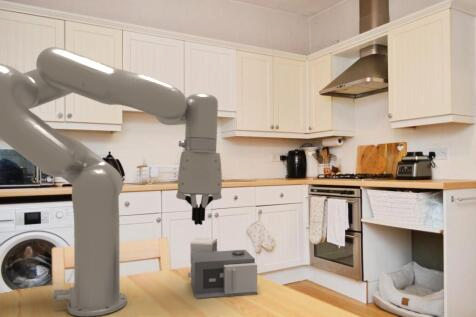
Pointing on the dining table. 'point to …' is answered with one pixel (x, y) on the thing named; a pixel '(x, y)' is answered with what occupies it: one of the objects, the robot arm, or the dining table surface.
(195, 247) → the white rounded housing
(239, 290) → the door
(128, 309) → the dining table surface
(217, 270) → the camera case
